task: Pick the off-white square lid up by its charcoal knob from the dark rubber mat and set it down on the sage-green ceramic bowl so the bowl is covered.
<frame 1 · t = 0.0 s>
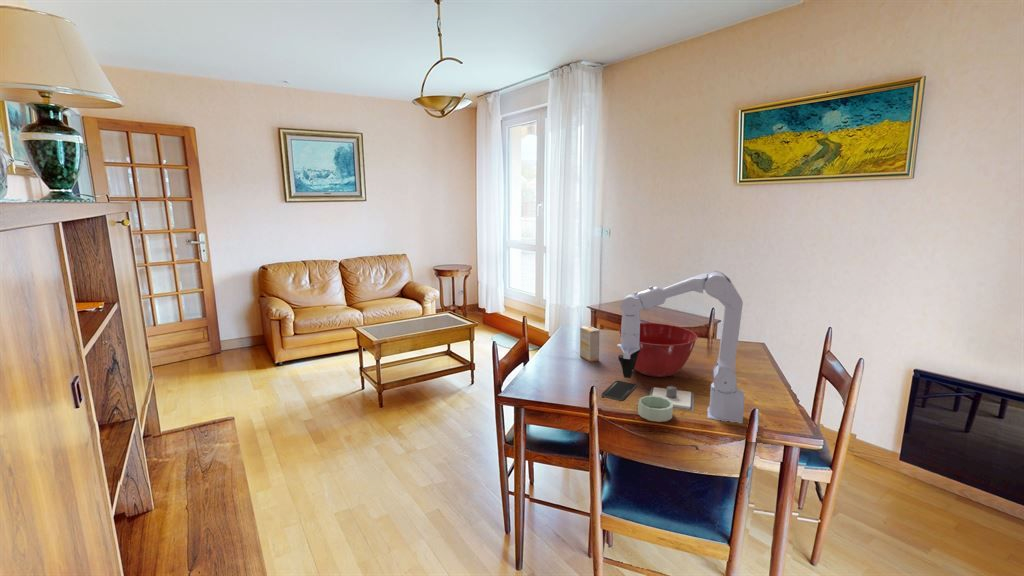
hand: (629, 373, 151), 10 cm above the table, tool pointing down, fingers open, 7 cm apart
phone: (619, 393, 161), on the table
bowl: (655, 414, 144), on the table
mixing bowl: (655, 371, 180), on the table
mat: (671, 399, 154), on the table
lid: (671, 398, 154), resting on mat
supplement box: (589, 358, 195), on the table
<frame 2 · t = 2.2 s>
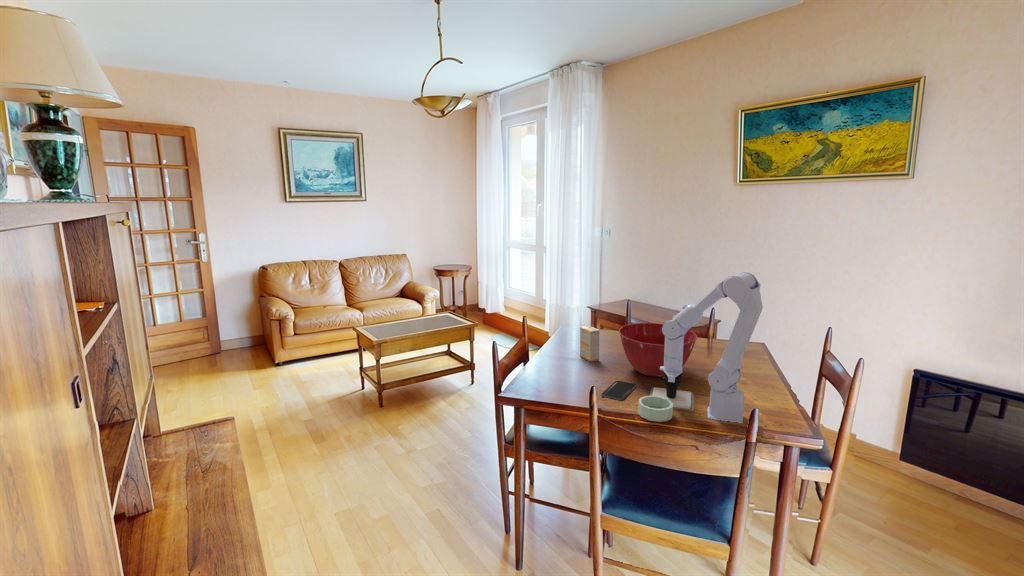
hand: (671, 395, 154), 2 cm above the table, tool pointing down, fingers closed on lid, 3 cm apart
lid: (671, 398, 154), resting on mat, touching gripper
everything else where it was.
when the fingers open (6 cm above the table, at t = 5.0 s): lid stays where it is, resting on bowl.
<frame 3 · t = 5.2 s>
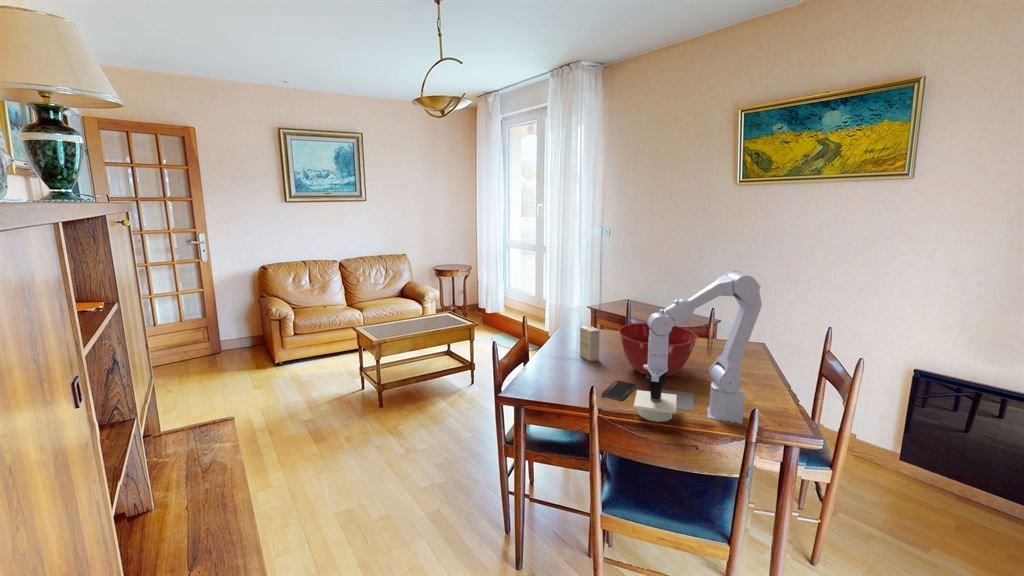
hand: (656, 395, 143), 6 cm above the table, tool pointing down, fingers open, 4 cm apart
lid: (655, 402, 143), point 4 cm above the table, touching bowl
everything else where it was.
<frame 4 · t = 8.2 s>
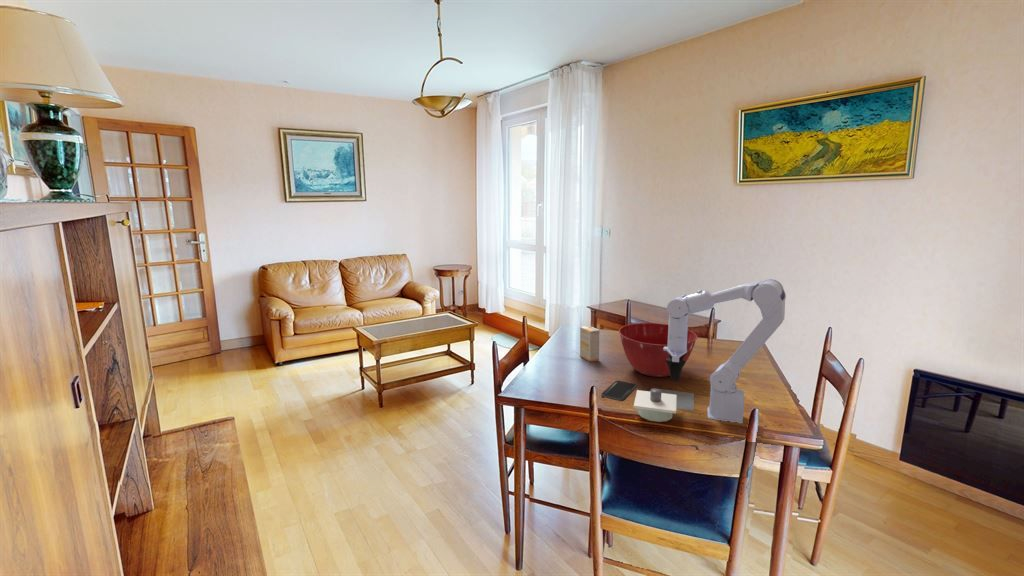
hand: (675, 376, 149), 9 cm above the table, tool pointing down, fingers open, 7 cm apart
nothing on the table moved.
at the end: lid 0.1 cm off-centre on the bowl, point 4.0 cm above the bowl's base; lid tilted 0°; the gripper is holding nothing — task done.
